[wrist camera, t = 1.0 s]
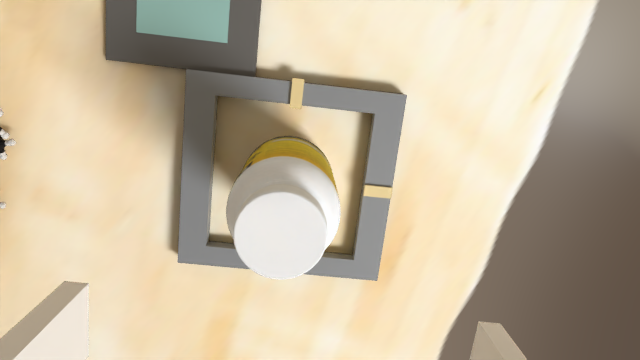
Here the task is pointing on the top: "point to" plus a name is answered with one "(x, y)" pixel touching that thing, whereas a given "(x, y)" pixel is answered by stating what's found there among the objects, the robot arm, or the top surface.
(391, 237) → the top surface
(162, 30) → the mat
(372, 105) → the socket plate
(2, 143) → the molecular model
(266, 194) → the pill bottle
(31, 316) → the robot arm
